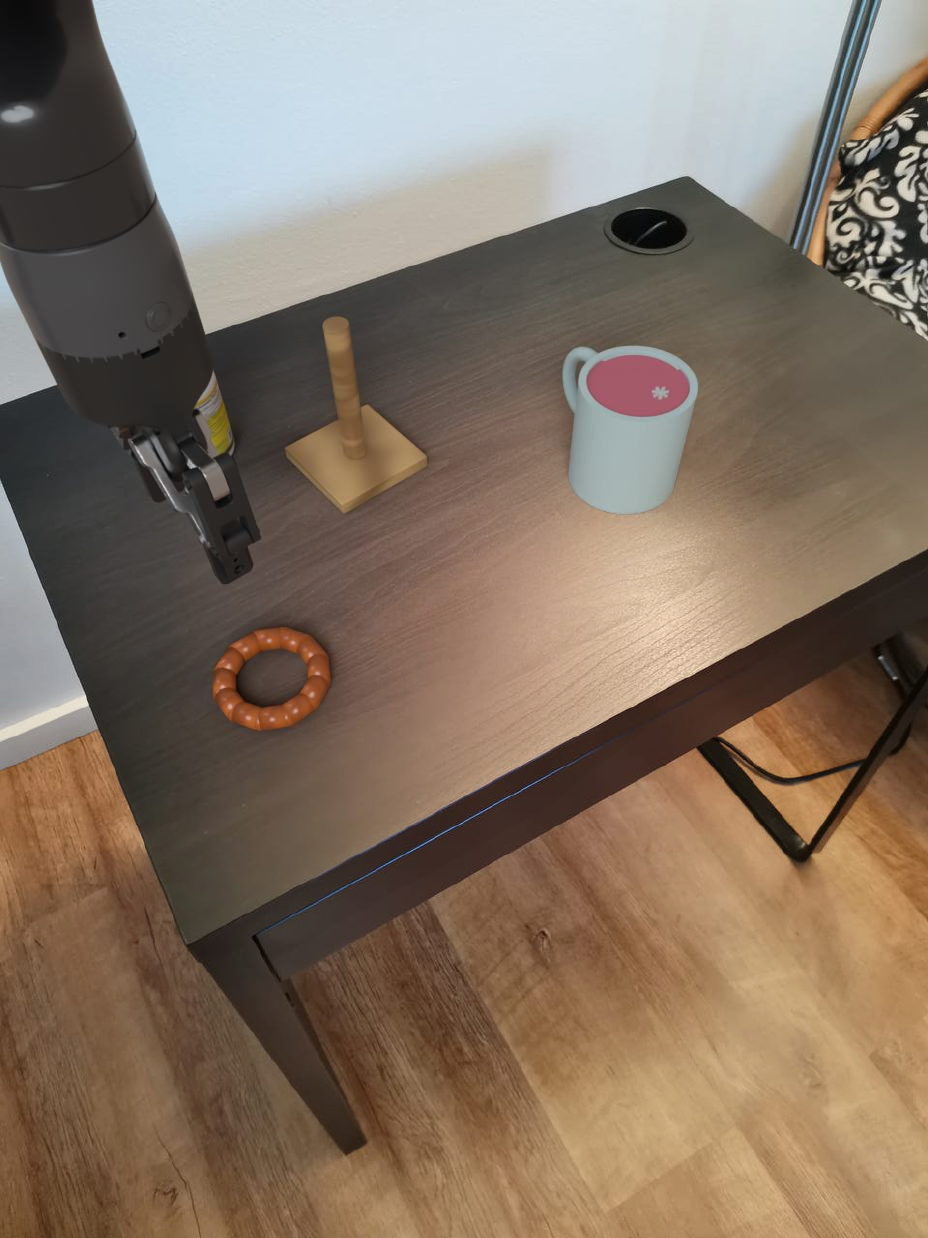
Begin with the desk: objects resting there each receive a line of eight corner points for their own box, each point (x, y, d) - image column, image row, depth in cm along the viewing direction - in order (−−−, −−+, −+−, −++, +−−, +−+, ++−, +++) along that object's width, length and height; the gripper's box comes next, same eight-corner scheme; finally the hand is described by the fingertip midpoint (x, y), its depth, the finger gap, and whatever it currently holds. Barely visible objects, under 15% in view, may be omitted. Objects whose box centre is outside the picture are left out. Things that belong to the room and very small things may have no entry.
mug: (697, 487, 76) (723, 394, 68) (609, 529, 73) (625, 438, 65) (602, 397, 83) (615, 304, 75) (519, 433, 80) (523, 340, 72)
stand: (344, 514, 74) (319, 378, 63) (286, 457, 79) (253, 319, 67) (428, 465, 78) (419, 328, 66) (368, 413, 82) (350, 275, 70)
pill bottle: (152, 453, 79) (110, 351, 70) (208, 419, 82) (174, 316, 73) (194, 487, 77) (156, 385, 68) (250, 450, 79) (221, 347, 70)
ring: (254, 755, 61) (249, 744, 60) (195, 676, 65) (189, 664, 64) (353, 689, 64) (351, 677, 63) (291, 617, 68) (287, 605, 67)
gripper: (-25, 264, 43) (95, 497, 56) (100, 414, 36) (203, 638, 50) (116, 210, 46) (199, 444, 59) (257, 340, 39) (315, 571, 52)
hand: (201, 532), depth 54 cm, fingers open, 8 cm apart
